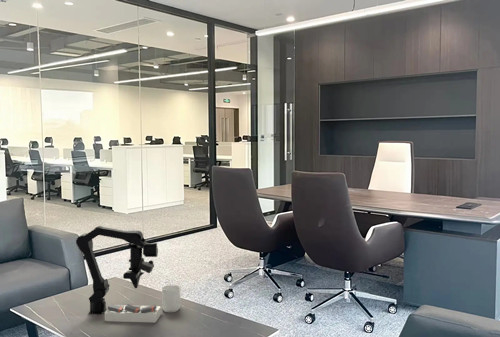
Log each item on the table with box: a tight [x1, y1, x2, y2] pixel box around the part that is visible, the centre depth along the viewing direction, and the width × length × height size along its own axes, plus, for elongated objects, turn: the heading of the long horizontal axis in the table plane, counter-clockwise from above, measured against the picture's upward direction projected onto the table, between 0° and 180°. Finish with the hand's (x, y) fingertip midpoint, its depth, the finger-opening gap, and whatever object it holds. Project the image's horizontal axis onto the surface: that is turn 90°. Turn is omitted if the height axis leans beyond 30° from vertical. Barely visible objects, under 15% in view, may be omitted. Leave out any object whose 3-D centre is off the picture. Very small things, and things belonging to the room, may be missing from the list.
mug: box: [161, 284, 182, 313], centre depth 217 cm, size 12×9×11 cm
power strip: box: [104, 304, 162, 323], centre depth 204 cm, size 24×10×4 cm, turn 87°
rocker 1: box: [107, 303, 124, 312], centre depth 203 cm, size 6×3×2 cm, turn 87°
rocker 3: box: [141, 304, 157, 313], centre depth 202 cm, size 6×3×2 cm, turn 88°
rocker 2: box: [124, 303, 140, 313], centre depth 202 cm, size 6×3×2 cm, turn 87°
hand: (136, 288), depth 212 cm, fingers closed
